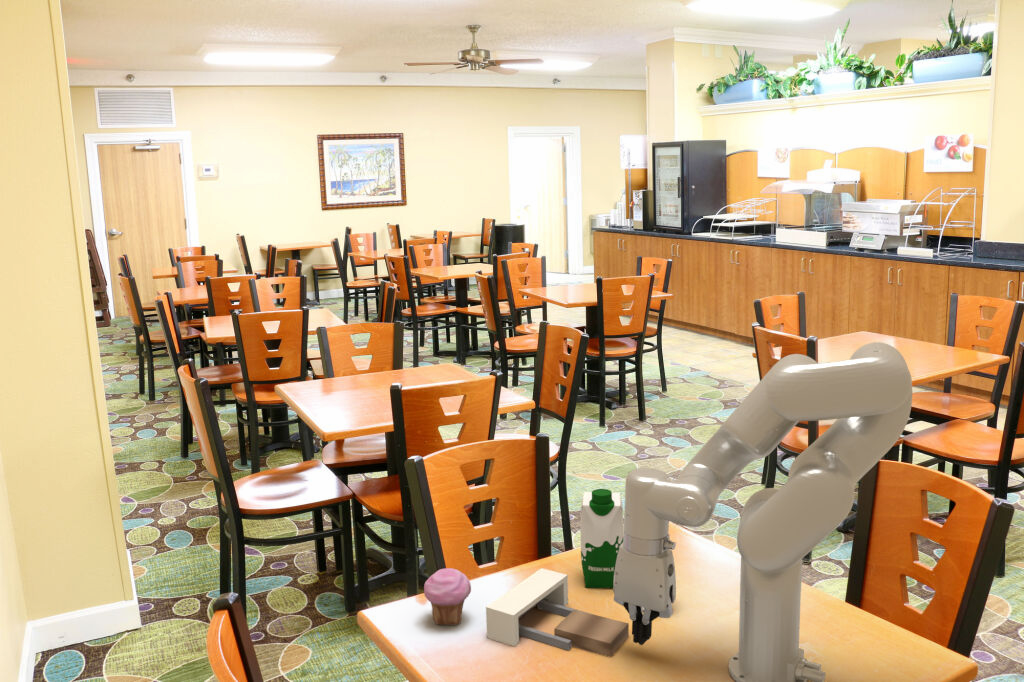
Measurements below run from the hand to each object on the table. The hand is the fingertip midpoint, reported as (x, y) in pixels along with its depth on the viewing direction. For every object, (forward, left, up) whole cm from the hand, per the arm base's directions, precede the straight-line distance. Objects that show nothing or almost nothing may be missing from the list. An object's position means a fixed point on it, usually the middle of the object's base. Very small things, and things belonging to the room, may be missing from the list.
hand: (641, 640), depth 150 cm
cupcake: (+36, +8, -3) cm, 37 cm away
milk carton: (+19, -22, -3) cm, 30 cm away
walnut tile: (+10, 0, -3) cm, 11 cm away
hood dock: (+19, 0, -3) cm, 19 cm away
